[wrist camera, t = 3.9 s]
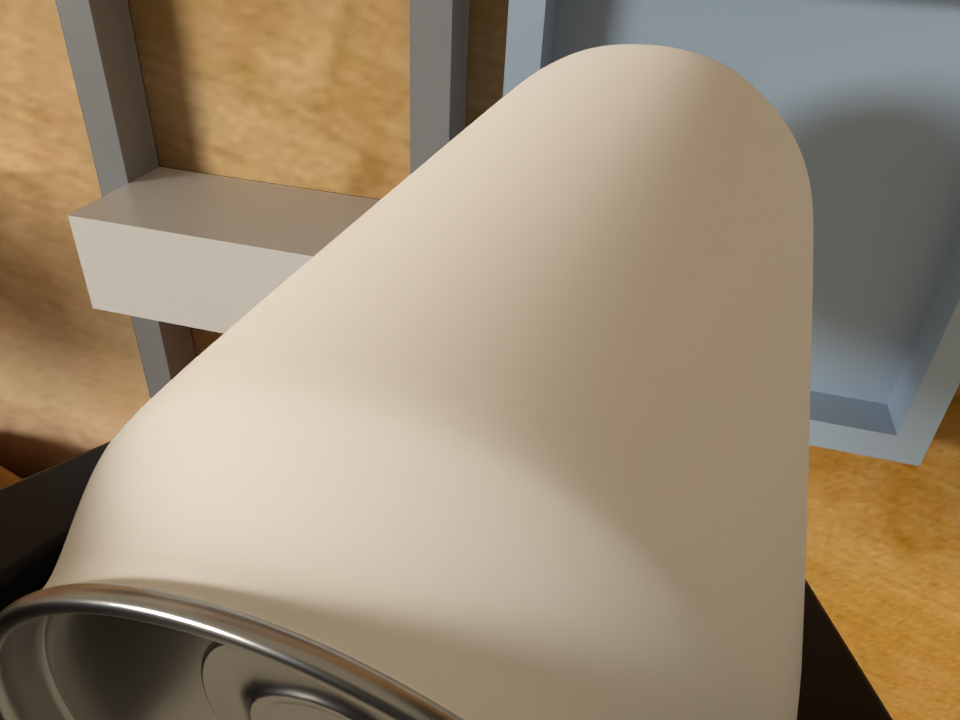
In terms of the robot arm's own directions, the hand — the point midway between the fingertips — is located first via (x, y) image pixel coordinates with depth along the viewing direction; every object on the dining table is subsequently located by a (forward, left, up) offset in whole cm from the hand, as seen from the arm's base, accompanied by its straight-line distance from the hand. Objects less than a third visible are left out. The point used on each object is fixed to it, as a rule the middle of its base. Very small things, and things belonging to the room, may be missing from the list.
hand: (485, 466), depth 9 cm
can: (-1, 0, -8) cm, 8 cm away
